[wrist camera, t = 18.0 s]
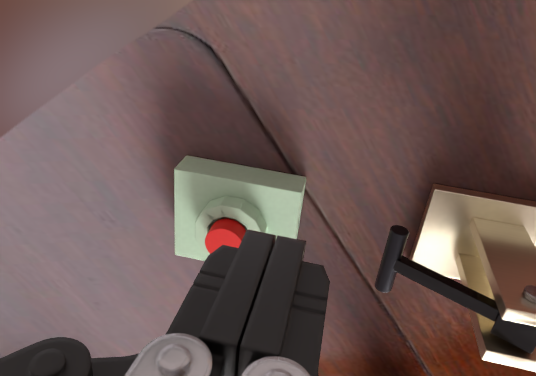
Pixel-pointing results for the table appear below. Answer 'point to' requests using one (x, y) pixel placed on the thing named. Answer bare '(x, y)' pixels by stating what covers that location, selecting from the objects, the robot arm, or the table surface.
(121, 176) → the table surface
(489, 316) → the lever
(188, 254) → the stop block
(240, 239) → the stop button
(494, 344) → the bracket
